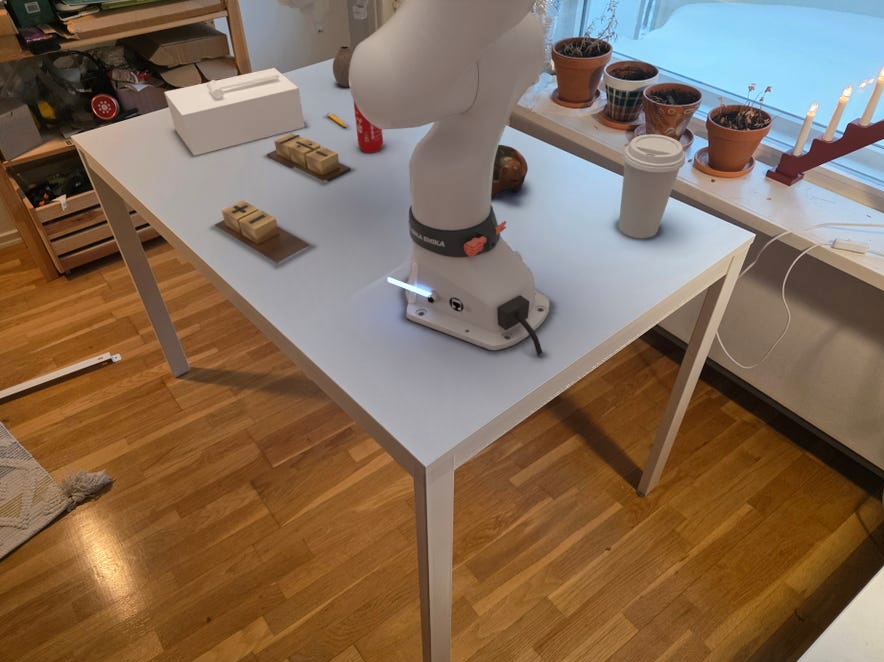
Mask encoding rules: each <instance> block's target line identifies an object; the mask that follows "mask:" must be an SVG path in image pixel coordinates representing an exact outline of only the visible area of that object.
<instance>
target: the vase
mask: <svg viewBox="0 0 884 662" xmlns="http://www.w3.org/2000/svg"><path fill="white" fill-rule="evenodd" d="M353 53H354V51H352V50H351V48H350V46H348V45H342V46H340V47H339V48H338V51H337V53H336V55H335V56H334V58H333V61H332V74H333V77H334V79H335V81H336V82H337V84H338V85H339V86H341V87H343V88H350V86H349V67H350V62H351V58H352V55H353Z"/></svg>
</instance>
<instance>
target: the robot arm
mask: <svg viewBox="0 0 884 662" xmlns="http://www.w3.org/2000/svg"><path fill="white" fill-rule="evenodd" d="M277 1H278V3H279V4H280V5H281V6H283V7H285V8H289V9H293V10H294V9H298V10H299V12H300V14H301V15H302V16H303V18H304V19H305V20H306V22H307V27H308V28H307V29H308V33H309V34H310V35H312V36H313V35H314V36H316V35H319V34H322V33H323V32H324V28H323V20H320V19H317V17H316V15H315V14H314V11H316V5H315V3H318V2H322V1H323V0H277ZM369 1H370V0H356V4H355V5H353V6H352V12H353V13H352V15H353V18H354V19H355V20H359V21H361V20H364V19H366V18H368V5H369ZM536 2H537V0H403V2H402V3H401V5H399V7H398V8H397V9H396V11H394V13H393V14H392V15H391V16H390V17H389V18H388V20H387V21H386V22H384V23H383V24H382V25H381V26H380V27H379V28H378V29H377V30H375V31H374V32H373V33H372V34H371V35H369V36H368V37H366V38H364V40H362V41H361V42H360V43H358V44H357V45H356V47H355V48H354V51H353V55H352V58H351V62H350V67H349V86H350V87H349V91H350V95H351V98H352V100H354V101H353V103H354V102H355V104H356V106H357V108H358V110H359V111H360V113H361V114H362V115H363V116H364V117H365V118H366V119H367V120H368V121H369V122H370V123H371V124H372V125H374V126H375V127H377V128H379V129H382V130H397V129H398V130H403V129H411V128H412V129H413V128H419V127H423V126H426V125H429V124H432V123H433V124H432V125H431V127H430V129H429V130H428V131H427V133H426V134H425V135H424V136H423V137H422V138H421V139H420V140H419V142H418V143H417V144H416V146H415V147H414V149H413V151H412V153H411V156H410V160H409V166H408V167H409V182H410V185H409V187H410V206H409V209H408V229H409V231H408V232H409V236H410V239H411V241H412V242H411V255H410V256H411V257H410V266H409V272H408V277H407V281H406V283H405V282H403V281H400V280H397V279H394V278H392V277H387V282H388V283H390V284H393V285H396V286H398V287H401V288H403V289H404V293H405V297H406V301H407V306H406V315H405V316H406V318H407V319H408V320H410V321H412V322H414V323H417V324H420V325H423V326H425V327H428V328H431V329H433V330H435V331H439V332H441V333H444V334H446V335H449V336H451V337H454V338H457V339H459V340H461V341H465V342H468V343H471V344H474V345H476V346H478V347H481V348H483V349H487V350H490V351H499V350H504V349H506V348H510V347H512V346H514V345H516V344H518V343H520V342H522V341H523V340H525V339H526V338H527V337H529V336H530V338H531V340H532V343H533V345H534V348H535V351H536V355H537V356H540V355H543V353H544V352H543V349H542V346H541V343H540V340H539V337H538V335H537V334H536V330H537V329H539V327H540V326H541V325H542V324H543V323H544V322H545V320H546V318H547V317H548V315H549V312H550V299H549V298H548V297H546V296H545V295H543V294H542V293H541V292H539V291H538V290H536V283H535V278H534V274H533V272H532V269H530V267H528V265H527V264H526V263H525V262H524V261H523V257H522V254H521V253H520V252H518V251H517V250H516V251H514V250H513V248H512V247H511V246H510V245H509V244H508V243H507V241H506V240H505V239H504V238H503V237H502V235H501V233H502V232H504V231H505V229H506V228H507V226H506V224H507V221H506V220H504V221H503V222H501V223H500V224H499V223H498V220H497V217H496V213H495V210H494V207H493V205H492V198H491V192H492V179H493V169H494V161H495V156H496V152H497V149H498V145H500V143H501V139H502V136H503V135H504V132H505V130H506V127H507V125H508V122H509V120H510V118H511V116H512V114H513V113H514V110H515V109H516V107H517V105H518V103H519V101H521V99H522V97H523V96H524V94H525V93H526V92H527V91H528V90H529V89H530V87H531V86H532V85H533V84H534V83H535V82H536V81H537V80H538V78H539V76H540V75H541V73H542V70H543V68H544V64H545V59H546V40H545V35H544V32H543V30H542V26H541V24H540V22H539V21H538V19H537V17H536V16H535V15H534V14H533V12H532V11H531V10H532V9H533V8H534V5H535V3H536Z"/></svg>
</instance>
